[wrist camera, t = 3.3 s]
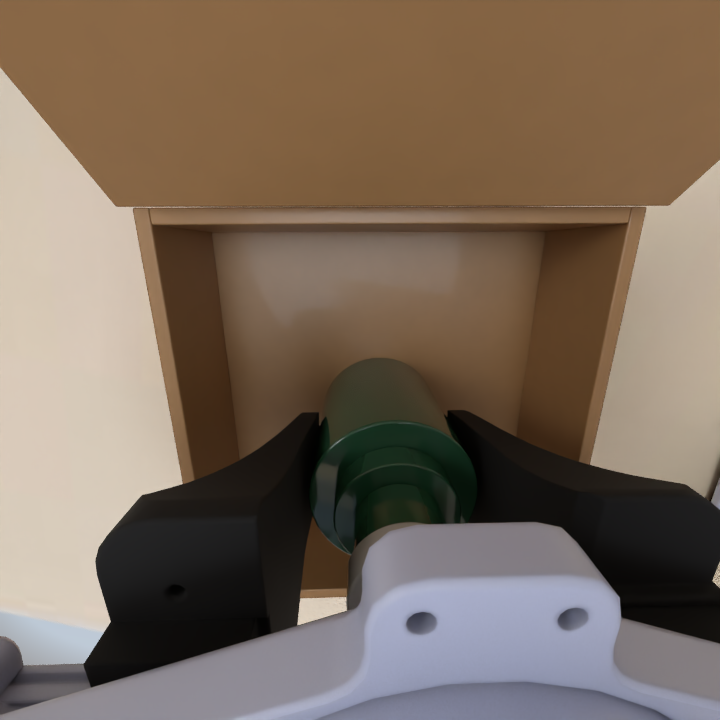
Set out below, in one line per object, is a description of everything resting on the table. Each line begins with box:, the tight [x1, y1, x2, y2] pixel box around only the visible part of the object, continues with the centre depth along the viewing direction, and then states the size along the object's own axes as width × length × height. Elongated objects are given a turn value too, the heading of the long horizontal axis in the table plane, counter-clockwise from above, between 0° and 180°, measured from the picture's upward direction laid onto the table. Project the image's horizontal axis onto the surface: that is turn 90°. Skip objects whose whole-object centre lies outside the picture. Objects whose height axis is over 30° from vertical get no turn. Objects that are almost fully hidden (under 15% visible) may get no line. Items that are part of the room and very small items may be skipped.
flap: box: [0, 0, 720, 207], centre depth 5 cm, size 6×13×1 cm
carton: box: [133, 207, 646, 598], centre depth 13 cm, size 13×13×4 cm
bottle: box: [309, 358, 478, 611], centre depth 11 cm, size 5×5×8 cm
